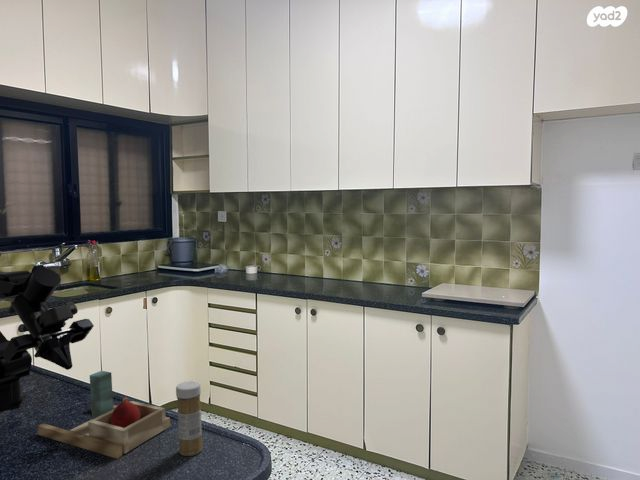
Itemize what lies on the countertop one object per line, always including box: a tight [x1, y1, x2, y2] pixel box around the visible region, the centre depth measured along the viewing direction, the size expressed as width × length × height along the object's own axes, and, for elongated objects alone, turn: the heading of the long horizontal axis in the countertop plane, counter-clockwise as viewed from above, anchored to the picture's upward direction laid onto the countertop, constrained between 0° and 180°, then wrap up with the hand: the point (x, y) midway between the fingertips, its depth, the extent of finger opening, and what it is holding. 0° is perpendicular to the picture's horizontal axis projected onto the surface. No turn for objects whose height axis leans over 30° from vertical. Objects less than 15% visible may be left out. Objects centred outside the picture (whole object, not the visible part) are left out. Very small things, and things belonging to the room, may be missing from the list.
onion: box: [110, 397, 141, 428], centre depth 98 cm, size 6×6×8 cm
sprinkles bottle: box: [175, 380, 204, 457], centre depth 91 cm, size 5×5×13 cm
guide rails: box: [37, 401, 171, 460], centre depth 101 cm, size 24×14×2 cm, turn 65°
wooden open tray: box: [69, 370, 167, 454], centre depth 99 cm, size 16×11×12 cm, turn 65°
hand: (70, 368), depth 104 cm, fingers closed
